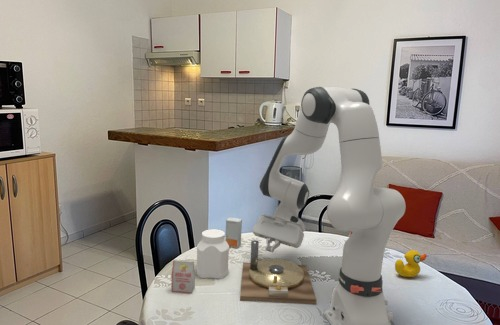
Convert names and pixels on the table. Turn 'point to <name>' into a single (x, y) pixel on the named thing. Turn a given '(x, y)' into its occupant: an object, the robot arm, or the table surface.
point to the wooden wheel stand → (277, 290)
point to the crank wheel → (273, 271)
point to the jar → (212, 255)
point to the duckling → (410, 264)
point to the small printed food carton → (183, 276)
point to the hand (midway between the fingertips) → (268, 251)
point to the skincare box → (233, 232)
